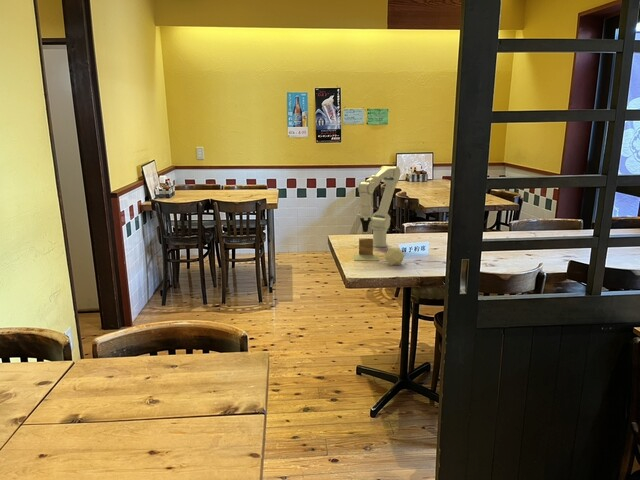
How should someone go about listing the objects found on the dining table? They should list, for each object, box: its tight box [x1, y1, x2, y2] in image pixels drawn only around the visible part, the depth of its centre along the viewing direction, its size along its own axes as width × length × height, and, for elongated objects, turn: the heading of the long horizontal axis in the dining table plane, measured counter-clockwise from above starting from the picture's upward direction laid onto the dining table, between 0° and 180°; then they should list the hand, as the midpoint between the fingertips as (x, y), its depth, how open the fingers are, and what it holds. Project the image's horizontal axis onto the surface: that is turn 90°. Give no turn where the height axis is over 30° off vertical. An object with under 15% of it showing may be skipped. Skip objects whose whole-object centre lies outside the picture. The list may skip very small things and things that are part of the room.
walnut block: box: [358, 238, 374, 255], centre depth 237 cm, size 4×7×8 cm, turn 86°
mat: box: [353, 254, 380, 262], centre depth 231 cm, size 9×12×1 cm
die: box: [384, 247, 405, 266], centre depth 220 cm, size 8×9×10 cm
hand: (365, 231), depth 242 cm, fingers closed
